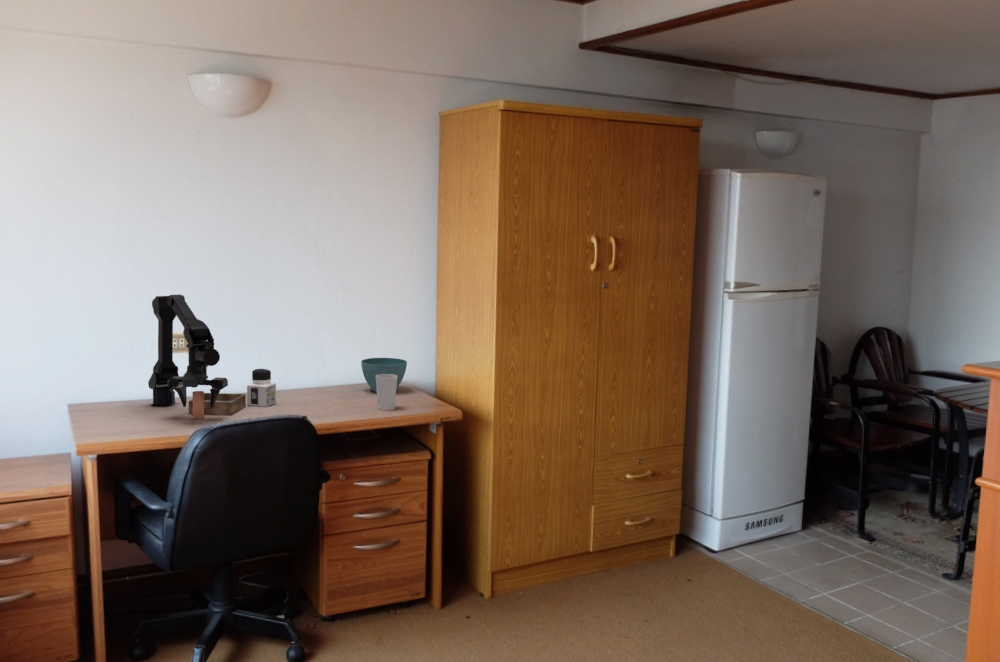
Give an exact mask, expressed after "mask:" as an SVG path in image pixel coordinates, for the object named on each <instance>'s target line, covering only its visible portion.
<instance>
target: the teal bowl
mask: <svg viewBox="0 0 1000 662" xmlns="http://www.w3.org/2000/svg"><path fill="white" fill-rule="evenodd" d="M407 364H408V361H407V360H405V359H402V358H396V357H373V358H372V357H370V358H365V359H362V360H361V362H360V365H361V370H362V374H363V377H364V379H365V382H366V383H367V385H368V386H369V388H370V389H371V390H372V391H373V392H375V393H377V389H376V375H380V374H393V375H397V376H398V377H397V387H396V389H397V388H398V387H399V385H400V384H401V383H402V381H403V379H404V377H405V373H406V371H407V366H408V365H407Z"/></svg>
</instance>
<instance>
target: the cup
mask: <svg viewBox="0 0 1000 662" xmlns="http://www.w3.org/2000/svg"><path fill="white" fill-rule="evenodd" d="M397 377H398V376H397V375H393V374H380V375H376V389H377V392H376V399H377V409H378V410H380V409H381V411H392V410H395V409H396V396H397V388H398V387H397ZM396 387H397V388H396Z"/></svg>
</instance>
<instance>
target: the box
mask: <svg viewBox="0 0 1000 662" xmlns="http://www.w3.org/2000/svg"><path fill="white" fill-rule="evenodd" d="M246 399H247V394H246V393H226V392H225V393H220V392H219V394H218V396H217V398H216V401H215V403H214V406H213V408H211V406H210V402H211V392H204V416H205V415H208V416H209V415H210V416H212V415H214V416H233V415H235V414H237V413H238V412H239V411H241V410H242V409H244V408H245V407H246V406H247V403H246V402H247V400H246ZM188 414H189V415H193V398H192V399H190V400H188Z"/></svg>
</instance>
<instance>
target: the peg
mask: <svg viewBox="0 0 1000 662" xmlns="http://www.w3.org/2000/svg"><path fill="white" fill-rule="evenodd" d="M204 393H205V391H202V390H195V391H192V399H193V414H192V419H193V420H203V419H205V414H204Z"/></svg>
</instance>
